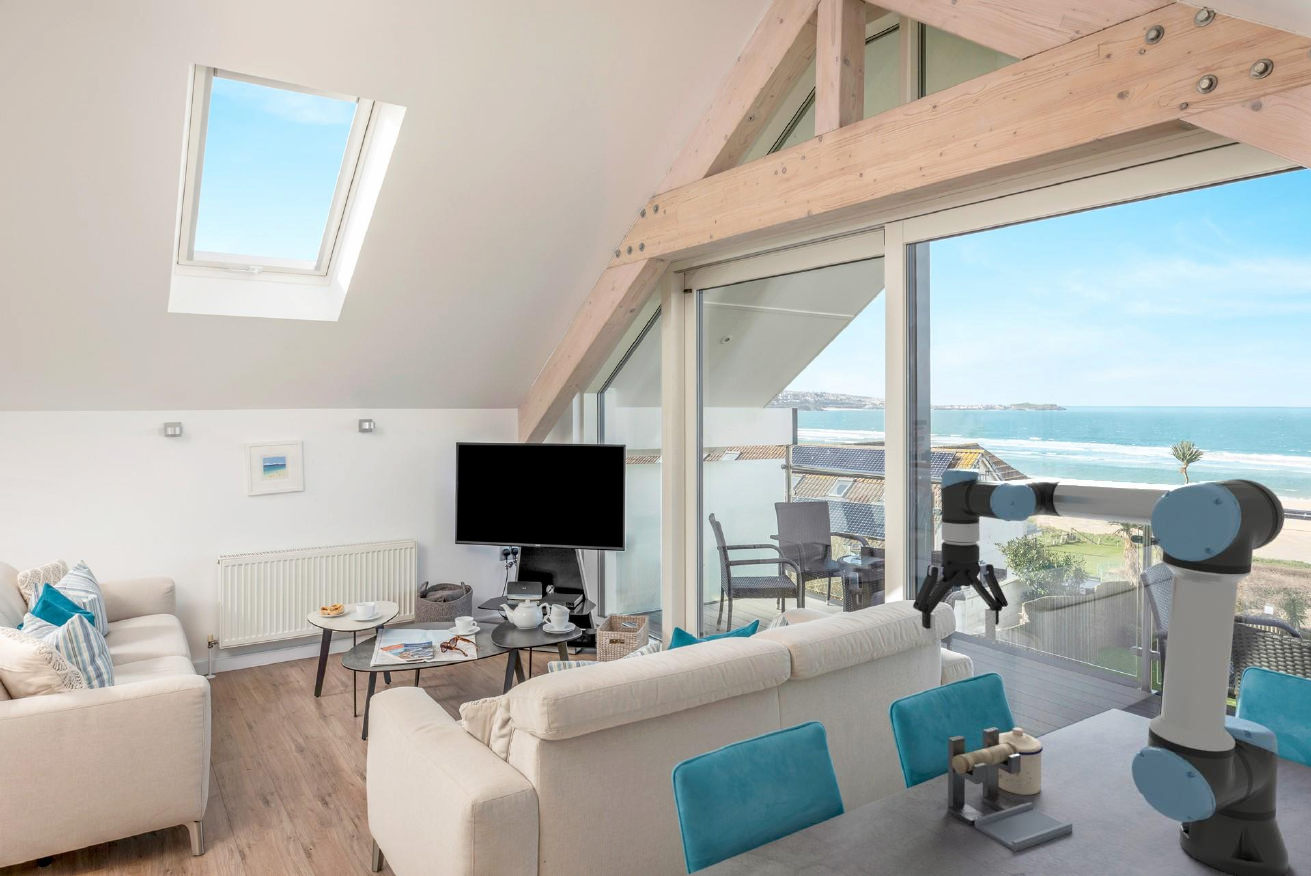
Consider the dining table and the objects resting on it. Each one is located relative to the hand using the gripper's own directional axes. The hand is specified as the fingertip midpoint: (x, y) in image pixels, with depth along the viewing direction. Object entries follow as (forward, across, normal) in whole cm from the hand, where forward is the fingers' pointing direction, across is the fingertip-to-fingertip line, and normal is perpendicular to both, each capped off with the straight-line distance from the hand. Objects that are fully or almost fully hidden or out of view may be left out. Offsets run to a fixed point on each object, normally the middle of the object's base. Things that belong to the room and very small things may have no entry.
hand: (960, 641), depth 172 cm
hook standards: (+27, +5, +19) cm, 33 cm away
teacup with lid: (+27, -5, +10) cm, 29 cm away
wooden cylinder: (+18, +5, +19) cm, 27 cm away
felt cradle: (+27, +2, +26) cm, 37 cm away
